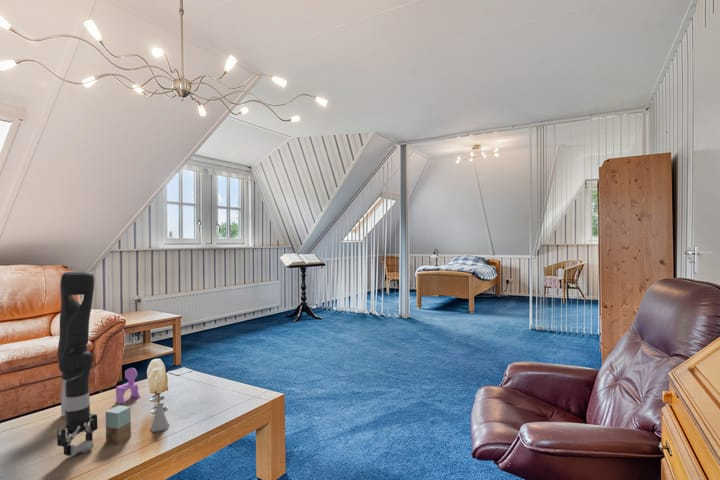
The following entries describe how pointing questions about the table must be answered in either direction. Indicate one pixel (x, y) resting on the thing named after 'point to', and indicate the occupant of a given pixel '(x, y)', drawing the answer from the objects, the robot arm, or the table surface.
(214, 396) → the table surface
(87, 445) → the mannequin head
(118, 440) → the tower bottom
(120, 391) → the purple figure shape
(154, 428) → the flask
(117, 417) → the tower top
